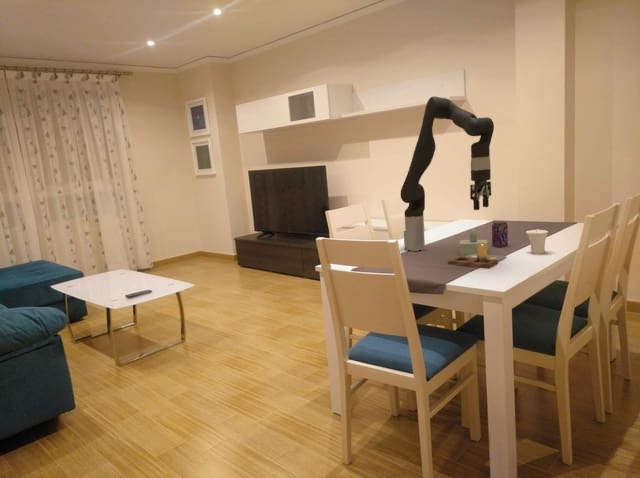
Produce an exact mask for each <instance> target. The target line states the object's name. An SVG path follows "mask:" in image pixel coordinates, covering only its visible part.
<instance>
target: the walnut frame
mask: <svg viewBox="0 0 640 478" xmlns="http://www.w3.org/2000/svg"><path fill="white" fill-rule="evenodd" d="M487 261H488V262H487V263H478V262H477V258H471V257H465V256H459V255H457V256H455V257H453V258H451V259H449V260H447V263H448V265H451V264H452V265H453V266H460V265H461V266H463V267H469V268H470V267H471V268H480V269H491V268H493V267H495V266H497V265H498V264H499V262H498V260H493V259H487Z"/></svg>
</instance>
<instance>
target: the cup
mask: <svg viewBox="0 0 640 478" xmlns="http://www.w3.org/2000/svg"><path fill="white" fill-rule="evenodd" d="M525 233H526V235H527V237H528V240H529V243H530V253H531V254H533V255H544V254H545V253H546V250H545V247H546V240H547V237H548V236H547V235H548V234H549V231H548V230H545V229H538V228H537V229H532V230H526V232H525Z"/></svg>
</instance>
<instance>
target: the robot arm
mask: <svg viewBox="0 0 640 478" xmlns="http://www.w3.org/2000/svg"><path fill="white" fill-rule="evenodd" d="M422 118H423V119H422V122H421V126H420V131H419V135H418V138H417V141H416V144H415V148H414V151H413V154H412V157H411V161H410V164H409V168H408V171H407V174H406V177H405V179H404V181H403V184H402V186H401V189H400V199H401V201H402V202H404V203H405V204H408V206H407V208H406V209H405V210H404V226H405V227H404V228H405V229H404V231H403V241H404V244H403V245H404V246H403V247H404V250H405V249H406V250H405V251H408V250H410V251H409V252H420V251H419V250H421V251H424V250H425V249H426V246H425V245H426V243H425V240H426V239H425V223H424V222H425V220H424V211H425V208H426V207H425V206H426V205H425V204H426V192H425V189H424V186H423V185H422V184H421V183H420V180H421V178H422V177H423V175H424V174H425V172H426V170H427V169H428V168H429V166H431V163H432V161H433V158H434V156H435V151H436V149H437V148H436V145H437V144H436V140H435V137H434V131H433V126H434V121H435V119H439V120H450V121H452V122H453V124H454V125H455V126H457V127H458V128H460V129H462V130H463V131H464V132H465V133H466V135H468V136H469V137H479V140H478V141H477V142H473V143H472V144H471V146H470V157H471V158H470V181H472V182H474V183H473V184H470V185H469V187H470V189H469V190H470V191H469V192H470V193H469V194H470V195H469V199H470V201H471V200H472V201H473V211H480V204H481V203H480V198H481V197H482V207H483V208H489V201H490V200H489V199H490V197H491V196H492V182H491V181H490V180H491V179H492V177H491V173H492V171H491V158H490V156H491V155H490V154H491V153H490V150H491V149H490V146H491V142H492V138H493V134H494V129H495V123H494V121H493V119H492V118H491V117H489V116H488V117H477V116H476V114H474V113H472V112H470V111H468V110H466V109H463V108H460V106H458V105H457V104H455V103H454V102H453V101H452V100H451V99H449V98H446V97H440V96H431V97H429V99H428V100H427V103H426V106H425V109H424V113H423V117H422Z"/></svg>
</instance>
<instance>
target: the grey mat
mask: <svg viewBox="0 0 640 478" xmlns="http://www.w3.org/2000/svg"><path fill="white" fill-rule="evenodd" d="M464 257H471V258H477V254H474V253H472V254H466V255H465V256H464ZM507 257H508V256H505V255H493V254H487V259H493V260H498V263H499V262H501V261H503V260H505V259H507Z"/></svg>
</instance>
